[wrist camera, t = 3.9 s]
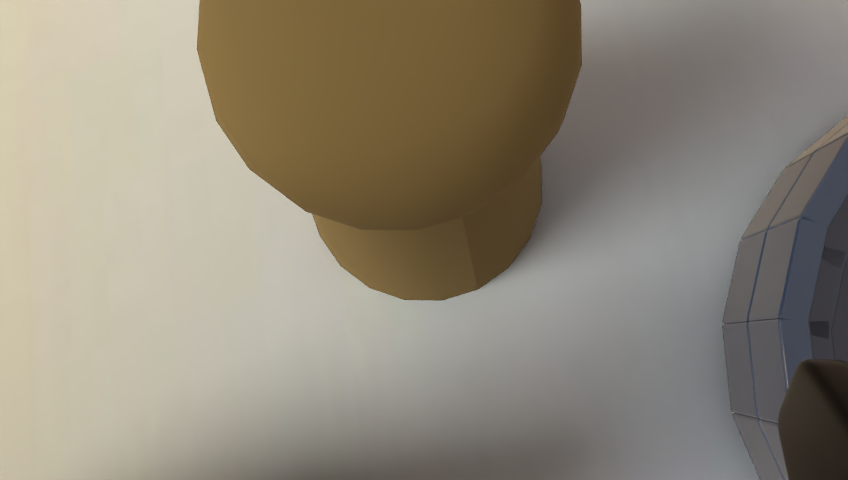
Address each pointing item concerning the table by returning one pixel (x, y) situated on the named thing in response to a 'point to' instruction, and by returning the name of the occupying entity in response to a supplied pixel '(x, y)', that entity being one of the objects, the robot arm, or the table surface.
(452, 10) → the yellow pawn piece
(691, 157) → the table surface
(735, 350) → the bowl
